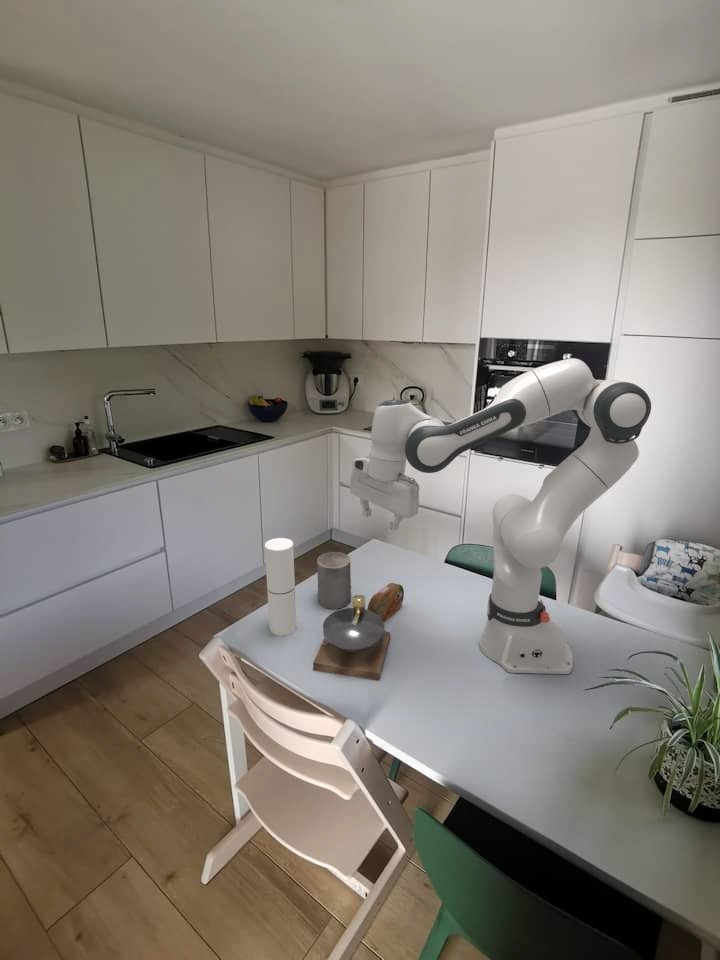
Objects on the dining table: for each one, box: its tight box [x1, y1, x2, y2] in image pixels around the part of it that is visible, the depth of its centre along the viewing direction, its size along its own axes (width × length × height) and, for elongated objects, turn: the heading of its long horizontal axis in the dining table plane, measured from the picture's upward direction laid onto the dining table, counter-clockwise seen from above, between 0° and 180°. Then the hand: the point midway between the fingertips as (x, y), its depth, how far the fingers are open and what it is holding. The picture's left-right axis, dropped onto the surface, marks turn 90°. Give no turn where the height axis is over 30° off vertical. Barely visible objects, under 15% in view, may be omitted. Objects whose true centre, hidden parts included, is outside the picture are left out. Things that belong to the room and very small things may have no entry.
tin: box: [366, 582, 405, 623], centre depth 139 cm, size 15×3×8 cm, turn 143°
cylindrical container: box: [264, 537, 297, 637], centre depth 130 cm, size 7×7×25 cm
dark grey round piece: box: [322, 594, 385, 652], centre depth 122 cm, size 15×15×6 cm
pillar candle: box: [316, 551, 352, 610], centre depth 145 cm, size 10×10×15 cm
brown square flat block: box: [312, 630, 391, 681], centre depth 124 cm, size 16×16×6 cm
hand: (379, 522), depth 121 cm, fingers open, 8 cm apart
